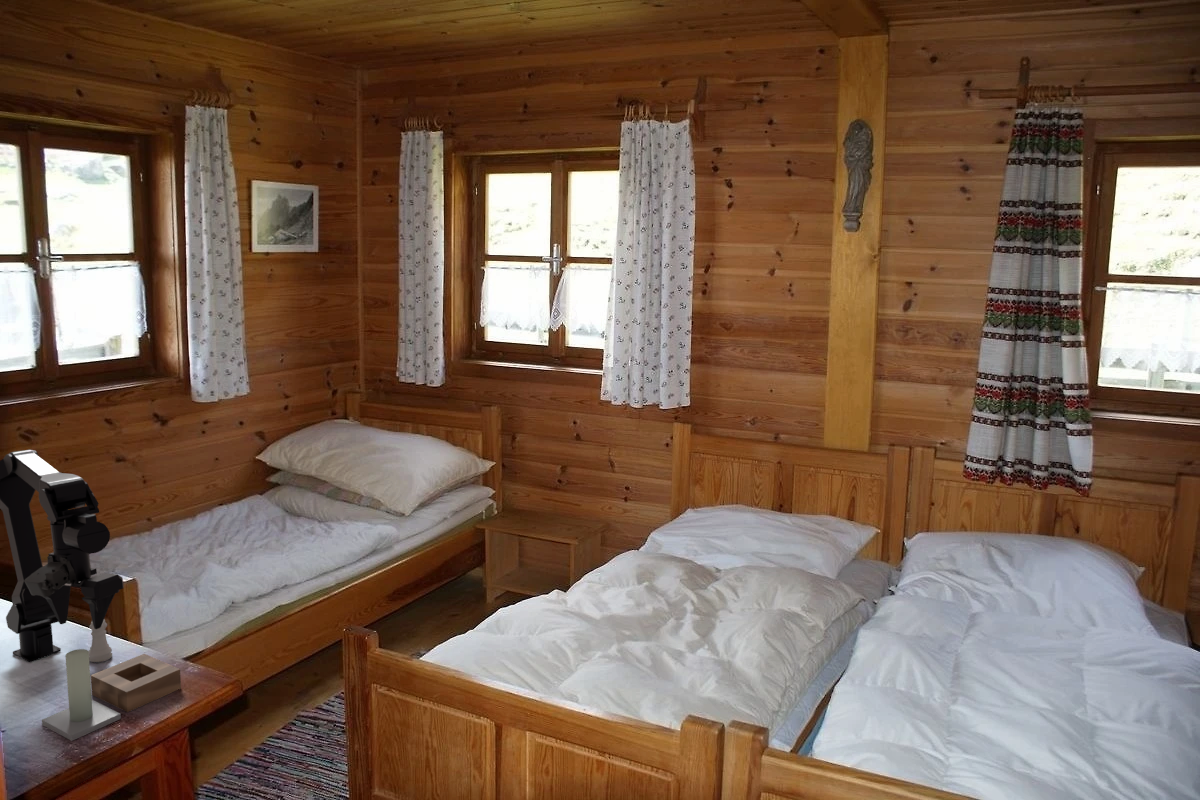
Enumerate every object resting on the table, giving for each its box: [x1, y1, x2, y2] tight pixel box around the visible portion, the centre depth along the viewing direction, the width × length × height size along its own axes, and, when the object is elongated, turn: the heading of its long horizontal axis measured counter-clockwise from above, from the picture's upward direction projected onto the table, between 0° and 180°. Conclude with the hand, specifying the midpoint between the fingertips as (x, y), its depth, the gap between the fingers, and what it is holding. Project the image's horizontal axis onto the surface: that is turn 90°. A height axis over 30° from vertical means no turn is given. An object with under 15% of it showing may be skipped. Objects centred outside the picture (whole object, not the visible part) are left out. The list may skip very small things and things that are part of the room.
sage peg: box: [64, 648, 93, 722], centre depth 170 cm, size 4×4×12 cm
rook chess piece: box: [88, 619, 113, 664], centre depth 194 cm, size 4×4×8 cm
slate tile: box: [41, 699, 122, 742], centre depth 171 cm, size 9×9×1 cm
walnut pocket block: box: [90, 653, 182, 713], centre depth 182 cm, size 11×11×4 cm
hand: (80, 626), depth 181 cm, fingers open, 9 cm apart
